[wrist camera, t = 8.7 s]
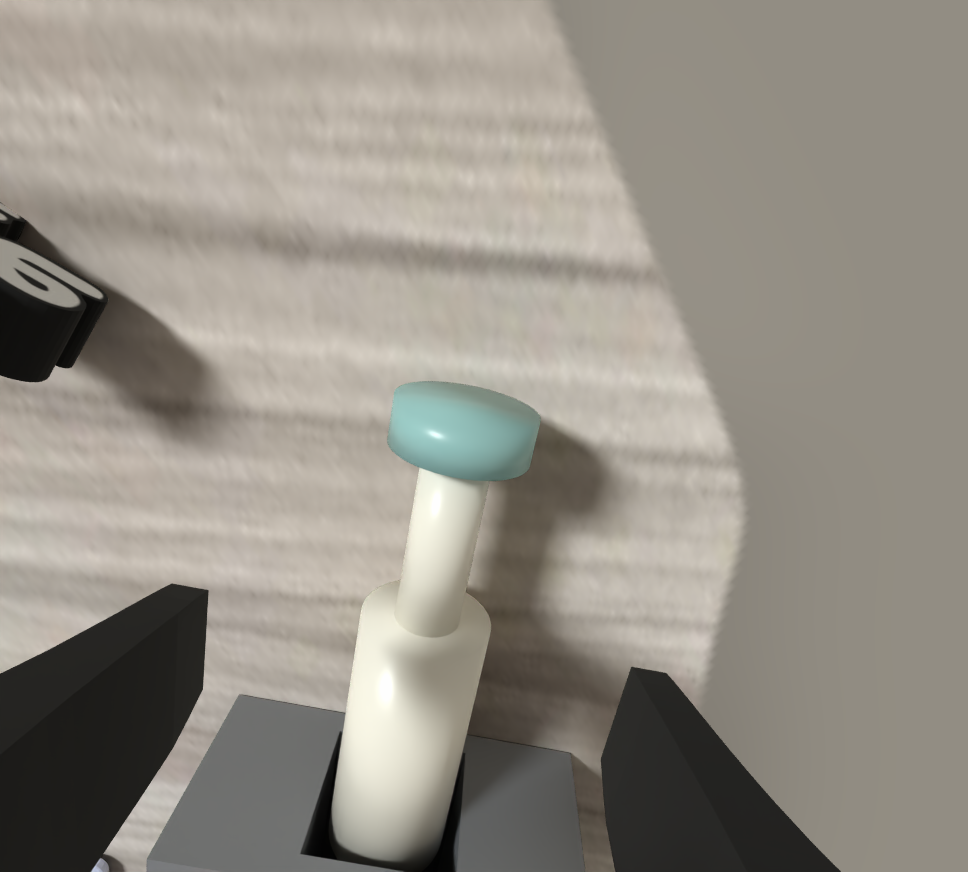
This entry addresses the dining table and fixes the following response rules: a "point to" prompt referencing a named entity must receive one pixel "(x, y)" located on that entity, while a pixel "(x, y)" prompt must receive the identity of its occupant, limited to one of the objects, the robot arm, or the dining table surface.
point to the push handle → (424, 629)
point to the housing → (309, 793)
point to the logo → (40, 308)
